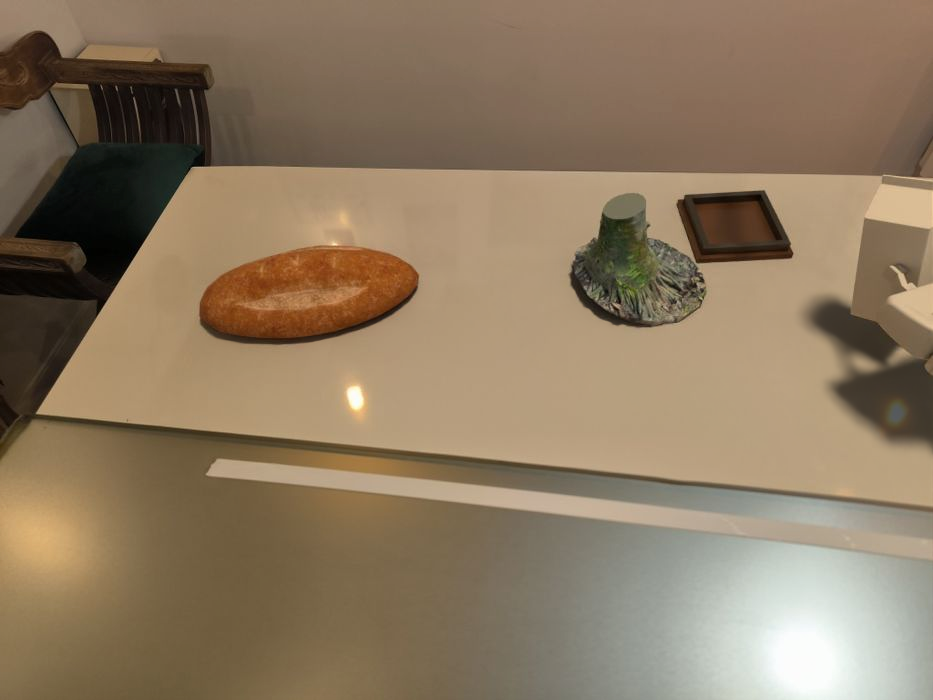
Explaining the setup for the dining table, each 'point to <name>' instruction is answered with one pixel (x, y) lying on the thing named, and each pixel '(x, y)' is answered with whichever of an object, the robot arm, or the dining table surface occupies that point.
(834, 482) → the dining table surface
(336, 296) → the bread
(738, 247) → the tray
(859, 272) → the milk carton
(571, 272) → the dining table surface
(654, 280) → the tree stump
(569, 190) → the dining table surface
